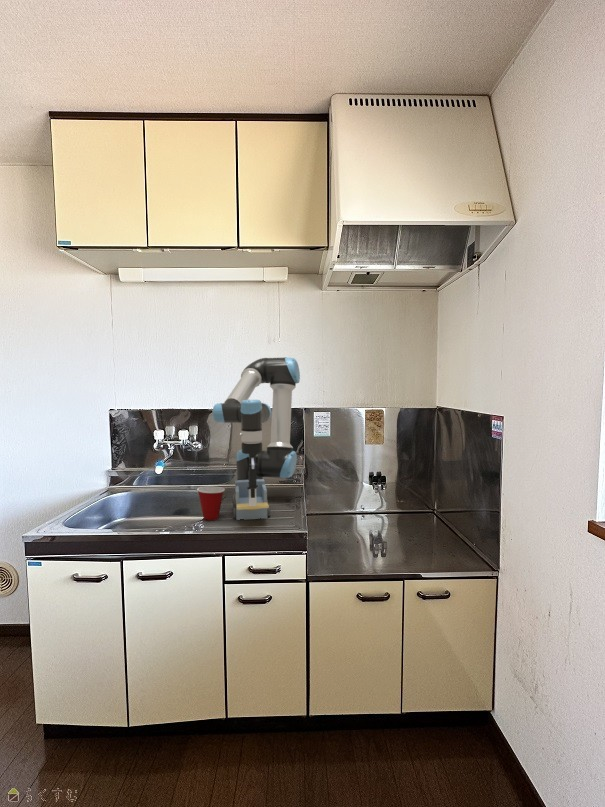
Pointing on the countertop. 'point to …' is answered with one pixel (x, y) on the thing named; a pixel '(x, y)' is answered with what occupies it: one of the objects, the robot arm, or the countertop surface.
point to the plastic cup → (210, 501)
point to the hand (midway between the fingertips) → (252, 505)
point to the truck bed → (243, 498)
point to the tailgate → (246, 506)
